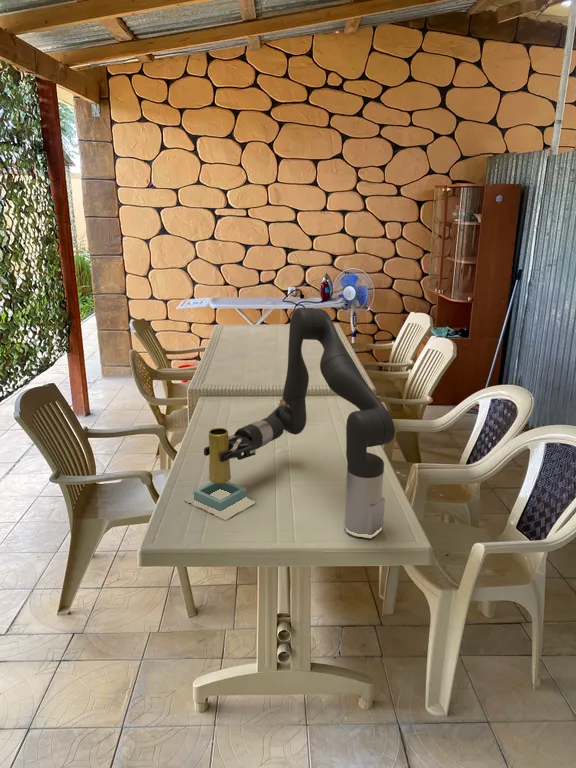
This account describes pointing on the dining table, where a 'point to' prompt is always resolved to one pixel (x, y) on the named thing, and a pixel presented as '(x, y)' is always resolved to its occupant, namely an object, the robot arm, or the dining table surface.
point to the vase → (217, 446)
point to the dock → (205, 498)
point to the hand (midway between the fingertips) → (212, 455)
